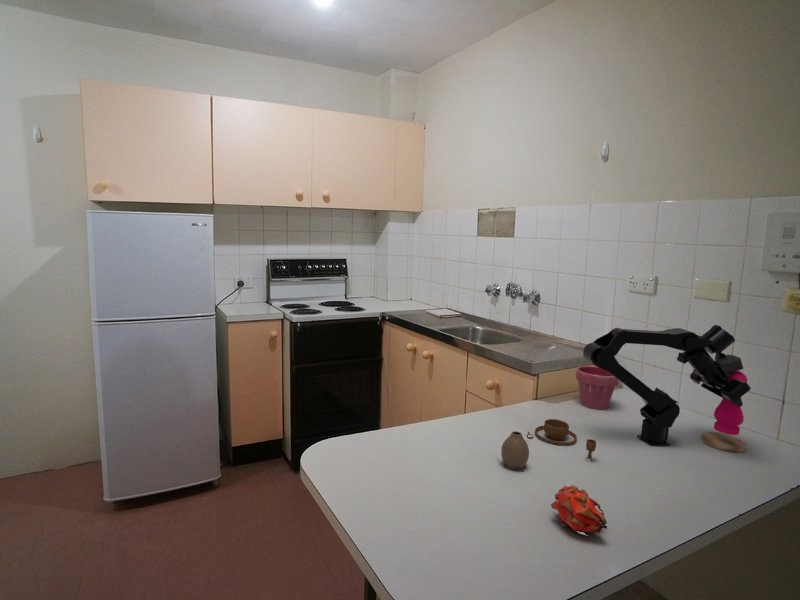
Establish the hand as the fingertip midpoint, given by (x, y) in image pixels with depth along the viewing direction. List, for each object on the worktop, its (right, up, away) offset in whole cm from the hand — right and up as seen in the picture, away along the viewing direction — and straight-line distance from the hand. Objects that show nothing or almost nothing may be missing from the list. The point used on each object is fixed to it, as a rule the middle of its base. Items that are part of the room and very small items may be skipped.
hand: (734, 402), depth 139 cm
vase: (-70, -12, -18) cm, 73 cm away
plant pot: (-29, -8, +31) cm, 43 cm away
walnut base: (-2, -13, +2) cm, 13 cm away
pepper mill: (-2, -9, +1) cm, 9 cm away
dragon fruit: (-63, -16, -43) cm, 78 cm away
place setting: (-53, -12, -3) cm, 55 cm away
